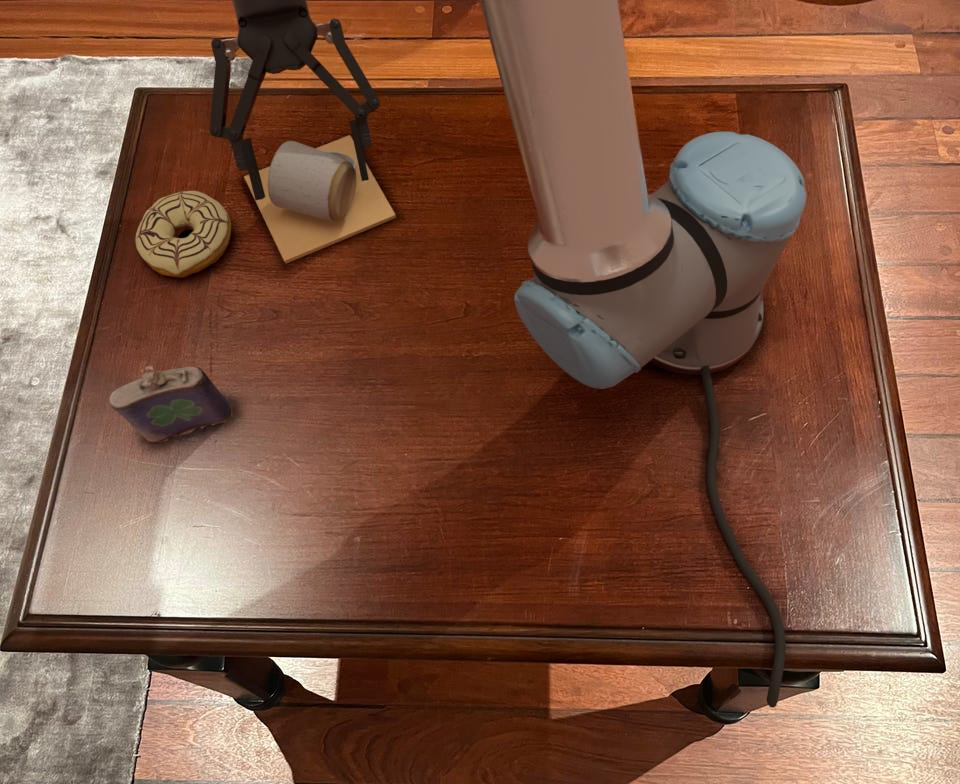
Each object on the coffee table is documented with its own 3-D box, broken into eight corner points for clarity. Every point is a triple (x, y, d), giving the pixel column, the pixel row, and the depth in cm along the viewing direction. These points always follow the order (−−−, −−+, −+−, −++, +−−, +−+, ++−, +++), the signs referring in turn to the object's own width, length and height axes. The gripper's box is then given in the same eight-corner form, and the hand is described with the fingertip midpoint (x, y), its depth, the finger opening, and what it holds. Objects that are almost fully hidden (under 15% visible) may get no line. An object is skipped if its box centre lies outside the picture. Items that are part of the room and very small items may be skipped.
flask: (147, 447, 82) (100, 403, 73) (143, 422, 84) (96, 376, 74) (235, 420, 83) (200, 373, 74) (230, 396, 85) (194, 347, 75)
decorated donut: (125, 252, 93) (110, 232, 90) (191, 193, 97) (180, 172, 93) (187, 297, 90) (174, 278, 87) (253, 234, 94) (243, 214, 90)
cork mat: (396, 218, 94) (395, 214, 94) (285, 264, 92) (284, 261, 91) (350, 138, 100) (349, 134, 99) (245, 179, 97) (243, 176, 97)
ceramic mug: (340, 236, 92) (327, 192, 86) (276, 219, 94) (258, 174, 87) (374, 169, 97) (364, 121, 90) (312, 154, 98) (298, 106, 91)
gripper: (376, -36, 87) (414, 168, 94) (159, 0, 86) (215, 204, 93) (376, -50, 80) (417, 172, 87) (139, -11, 79) (201, 211, 86)
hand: (313, 189), depth 90 cm, fingers open, 11 cm apart
